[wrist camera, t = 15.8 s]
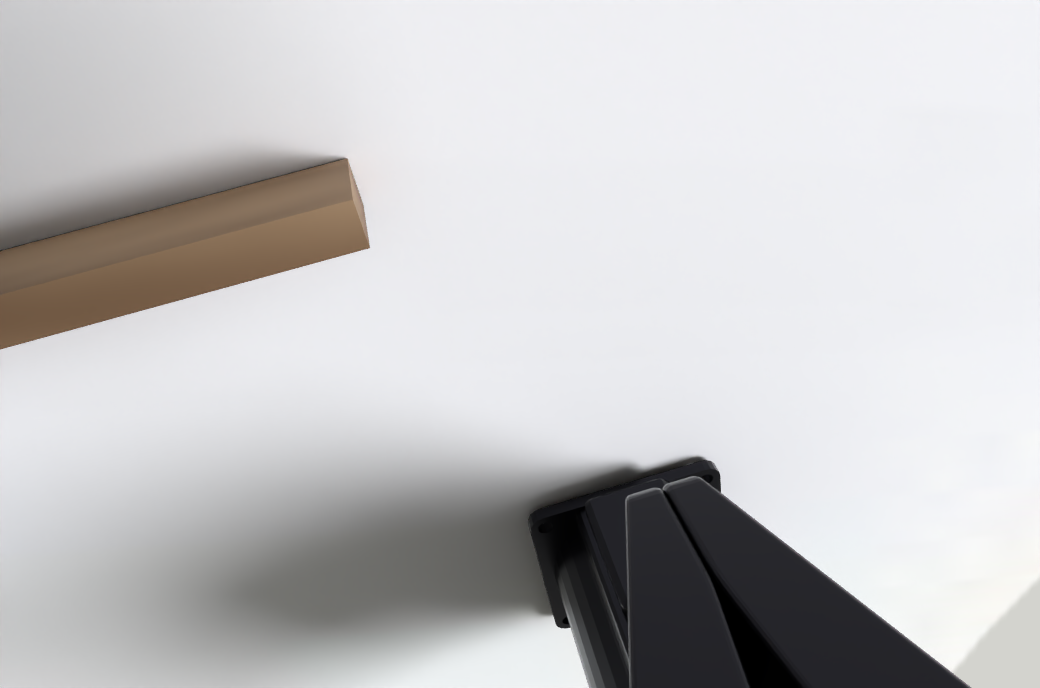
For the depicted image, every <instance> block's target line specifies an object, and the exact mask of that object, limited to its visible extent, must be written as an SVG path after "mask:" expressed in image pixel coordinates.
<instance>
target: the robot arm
mask: <svg viewBox="0 0 1040 688" xmlns="http://www.w3.org/2000/svg"><path fill="white" fill-rule="evenodd" d="M543 523H544V524H543ZM528 524H529V528H530V532H531V535H532V539H533V543H534V546H535V550H536V554H537V557H538V561H539V565H540V568H541V572H542V576H543V579H544V583H545V587H546V590H547V594H548V598H549V601H550V605H551V609H552V612H553V616H554V619H555V623H556V625H557V626H558V627H560V628H570V627H571V630H572V633H573V637H574V640H575V643H576V646H577V650H578V653H579V656H580V659H581V662H582V666H583V669H584V672H585V675H586V679H587V682H588V685H589V688H971V687H970V686H968V685H967V684H966V683H965V682H963V681H962V680H961V679H959V678H958V677H957V676H956V675H954V674H953V673H952V672H950V671H949V670H948V669H947V668H945V667H944V666H943V665H941V664H940V663H939V662H938V661H936V660H935V659H934V658H932V657H931V656H930V655H929V654H927V653H926V652H925V651H923V650H922V649H921V648H920V647H918V646H917V645H916V644H914V643H913V642H912V641H911V640H909V639H908V638H907V637H905V636H904V635H903V634H902V633H900V632H899V631H898V630H896V629H895V628H894V627H893V626H891V625H890V624H889V623H887V622H886V621H885V620H884V619H882V618H881V617H880V616H878V615H877V614H876V613H875V612H873V611H872V610H871V609H869V608H868V607H867V606H866V605H864V604H863V603H862V602H860V601H859V600H858V599H857V598H855V597H854V596H853V595H851V594H850V593H849V592H848V591H846V590H845V589H844V588H842V587H841V586H840V585H839V584H837V583H836V582H835V581H833V580H832V579H831V578H830V577H828V576H827V575H826V574H824V573H823V572H822V571H821V570H819V569H818V568H817V567H815V566H814V565H813V564H811V563H810V562H809V561H808V560H806V559H805V558H804V557H802V556H801V555H800V554H799V553H797V552H796V551H795V550H793V549H792V548H791V547H790V546H788V545H787V544H786V543H784V542H783V541H782V540H781V539H779V538H778V537H777V536H775V535H774V534H773V533H772V532H770V531H769V530H768V529H766V528H765V527H764V526H763V525H761V524H760V523H759V522H757V521H756V520H755V519H754V518H752V517H751V516H750V515H748V514H747V513H746V512H745V511H743V510H742V509H741V508H739V507H738V506H737V505H736V504H734V503H733V502H732V501H730V500H729V499H728V498H727V497H725V496H724V495H723V494H721V484H720V474H719V471H718V469H717V468H716V466H715V464H714V463H713V462H711V461H707V460H705V461H700V462H696V463H693V464H690V465H686V466H683V467H679V468H676V469H673V470H669V471H666V472H663V473H659V474H656V475H653V476H649V477H646V478H643V479H639V480H636V481H632V482H629V483H626V484H622V485H619V486H616V487H612V488H609V489H606V490H602V491H599V492H596V493H592V494H589V495H586V496H582V497H579V498H575V499H572V500H569V501H565V502H562V503H559V504H555V505H552V506H549V507H545V508H542V509H539V510H537V511H535V512H534V513H532V514H531V515H530V517H529V519H528Z"/></svg>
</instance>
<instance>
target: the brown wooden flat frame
mask: <svg viewBox="0 0 1040 688" xmlns="http://www.w3.org/2000/svg"><path fill="white" fill-rule="evenodd" d="M368 248H370V246H369V239H368V233H367V226H366V220H365V213H364V207H363V203H362V200H361V197H360V194H359V191H358V188H357V185H356V182H355V179H354V176H353V174H352V171H351V168H350V165H349V162H348V159H347V158H346V159H343V160H339V161H335V162H332V163H328V164H324V165H320V166H317V167H313V168H309V169H305V170H302V171H298V172H294V173H290V174H287V175H283V176H279V177H275V178H272V179H268V180H264V181H260V182H257V183H253V184H249V185H245V186H242V187H238V188H234V189H230V190H227V191H223V192H219V193H215V194H212V195H208V196H204V197H200V198H197V199H193V200H189V201H185V202H182V203H178V204H174V205H170V206H167V207H163V208H159V209H155V210H152V211H148V212H144V213H141V214H137V215H133V216H129V217H126V218H122V219H118V220H114V221H111V222H107V223H103V224H99V225H96V226H92V227H88V228H84V229H81V230H77V231H73V232H69V233H66V234H62V235H58V236H54V237H51V238H47V239H43V240H39V241H36V242H32V243H28V244H24V245H21V246H17V247H13V248H9V249H6V250H2V251H0V349H3V348H7V347H11V346H14V345H18V344H22V343H25V342H29V341H33V340H36V339H40V338H43V337H47V336H51V335H54V334H58V333H62V332H65V331H69V330H73V329H76V328H80V327H84V326H87V325H91V324H95V323H98V322H102V321H105V320H109V319H113V318H116V317H120V316H124V315H127V314H131V313H135V312H138V311H142V310H146V309H149V308H153V307H156V306H160V305H164V304H167V303H171V302H175V301H178V300H182V299H186V298H189V297H193V296H197V295H200V294H204V293H208V292H211V291H215V290H218V289H222V288H226V287H229V286H233V285H237V284H240V283H244V282H248V281H251V280H255V279H259V278H262V277H266V276H269V275H273V274H277V273H280V272H284V271H288V270H291V269H295V268H299V267H302V266H306V265H310V264H313V263H317V262H321V261H324V260H328V259H331V258H335V257H339V256H342V255H346V254H350V253H353V252H357V251H361V250H364V249H368Z"/></svg>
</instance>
